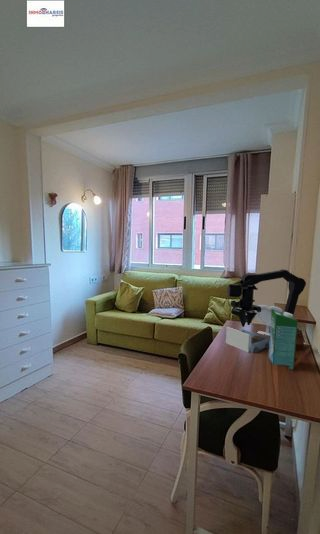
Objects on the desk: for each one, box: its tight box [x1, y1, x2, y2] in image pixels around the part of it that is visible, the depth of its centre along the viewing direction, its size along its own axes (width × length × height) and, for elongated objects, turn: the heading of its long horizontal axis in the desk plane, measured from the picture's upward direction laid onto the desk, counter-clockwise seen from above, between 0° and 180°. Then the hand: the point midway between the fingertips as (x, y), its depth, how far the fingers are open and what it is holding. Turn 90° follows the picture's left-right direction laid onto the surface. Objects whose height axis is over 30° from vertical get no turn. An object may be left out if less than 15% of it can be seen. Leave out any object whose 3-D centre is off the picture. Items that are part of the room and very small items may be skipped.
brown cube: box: [251, 336, 263, 344], centre depth 134 cm, size 4×4×4 cm
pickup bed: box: [224, 329, 270, 354], centre depth 136 cm, size 19×16×6 cm
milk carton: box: [267, 309, 299, 370], centre depth 116 cm, size 9×9×25 cm
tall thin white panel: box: [225, 326, 250, 353], centre depth 131 cm, size 14×1×9 cm, turn 35°
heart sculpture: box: [255, 304, 284, 337], centre depth 156 cm, size 16×5×18 cm, turn 61°
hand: (245, 325), depth 134 cm, fingers open, 4 cm apart
